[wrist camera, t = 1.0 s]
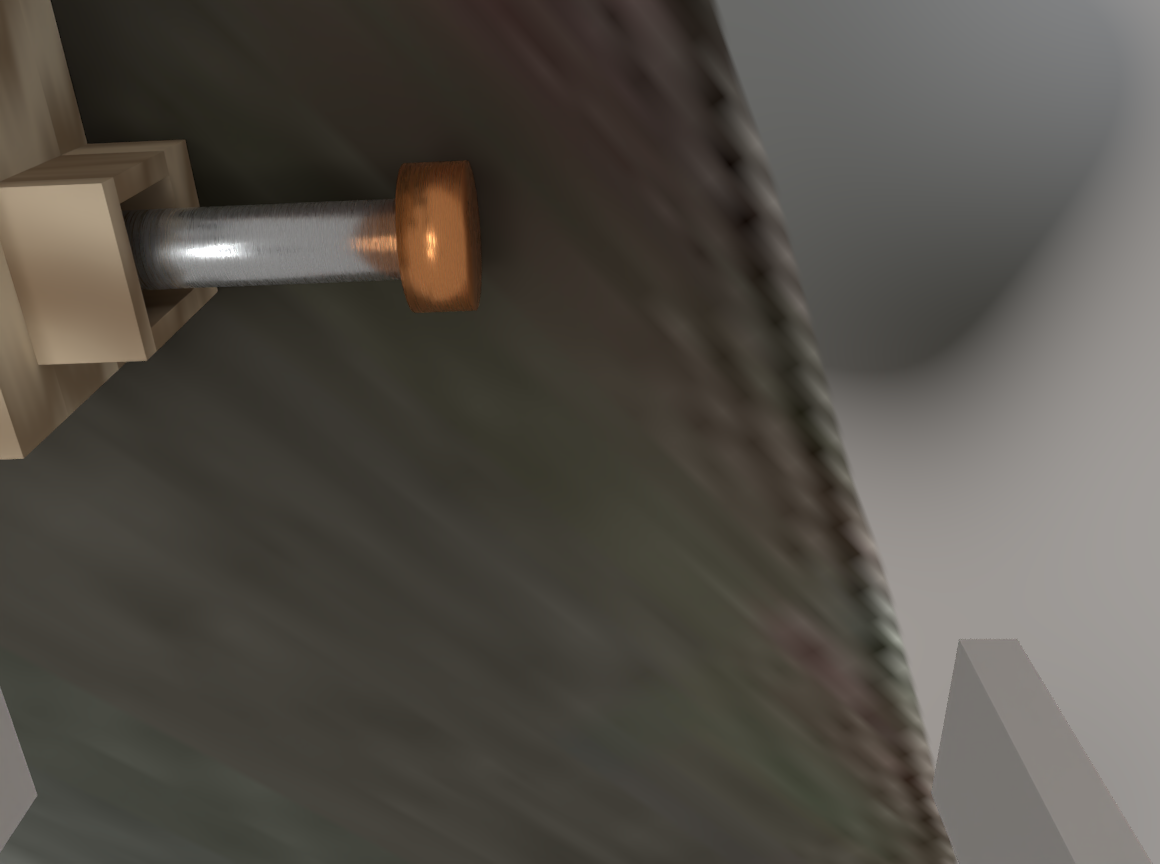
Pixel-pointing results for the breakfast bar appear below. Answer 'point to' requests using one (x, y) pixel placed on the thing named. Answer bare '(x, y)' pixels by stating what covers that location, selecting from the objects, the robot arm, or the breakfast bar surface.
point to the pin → (326, 241)
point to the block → (71, 239)
